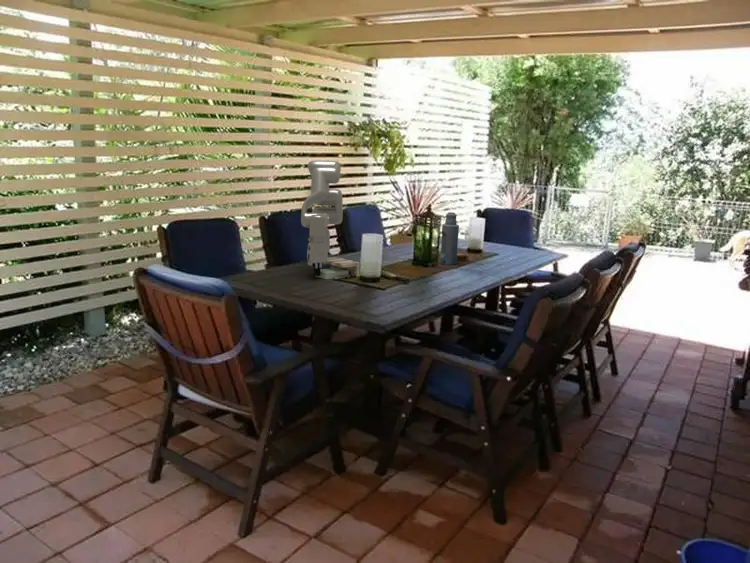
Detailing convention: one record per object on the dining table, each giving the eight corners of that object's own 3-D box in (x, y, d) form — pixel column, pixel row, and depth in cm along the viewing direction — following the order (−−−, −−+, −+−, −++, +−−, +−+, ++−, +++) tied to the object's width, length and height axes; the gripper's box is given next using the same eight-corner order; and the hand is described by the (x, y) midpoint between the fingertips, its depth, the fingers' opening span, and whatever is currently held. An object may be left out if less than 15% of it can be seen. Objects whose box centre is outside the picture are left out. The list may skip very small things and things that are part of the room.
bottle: (437, 262, 349) (439, 211, 343) (452, 261, 352) (455, 211, 346) (444, 265, 340) (446, 213, 334) (459, 264, 343) (462, 213, 337)
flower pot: (316, 271, 313) (316, 255, 311) (313, 268, 322) (313, 252, 320) (332, 271, 316) (332, 254, 314) (328, 268, 324) (329, 252, 322)
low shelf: (315, 273, 309) (315, 259, 307) (336, 270, 318) (336, 256, 316) (338, 280, 294) (338, 265, 293) (359, 276, 303) (359, 262, 301)
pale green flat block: (314, 275, 303) (314, 270, 302) (336, 272, 312) (336, 267, 311) (326, 279, 295) (326, 273, 295) (348, 276, 304) (348, 270, 303)
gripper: (309, 241, 286) (309, 278, 290) (333, 239, 296) (333, 275, 300) (300, 239, 292) (300, 276, 295) (324, 237, 301) (324, 272, 305)
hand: (317, 275), depth 298 cm, fingers closed
